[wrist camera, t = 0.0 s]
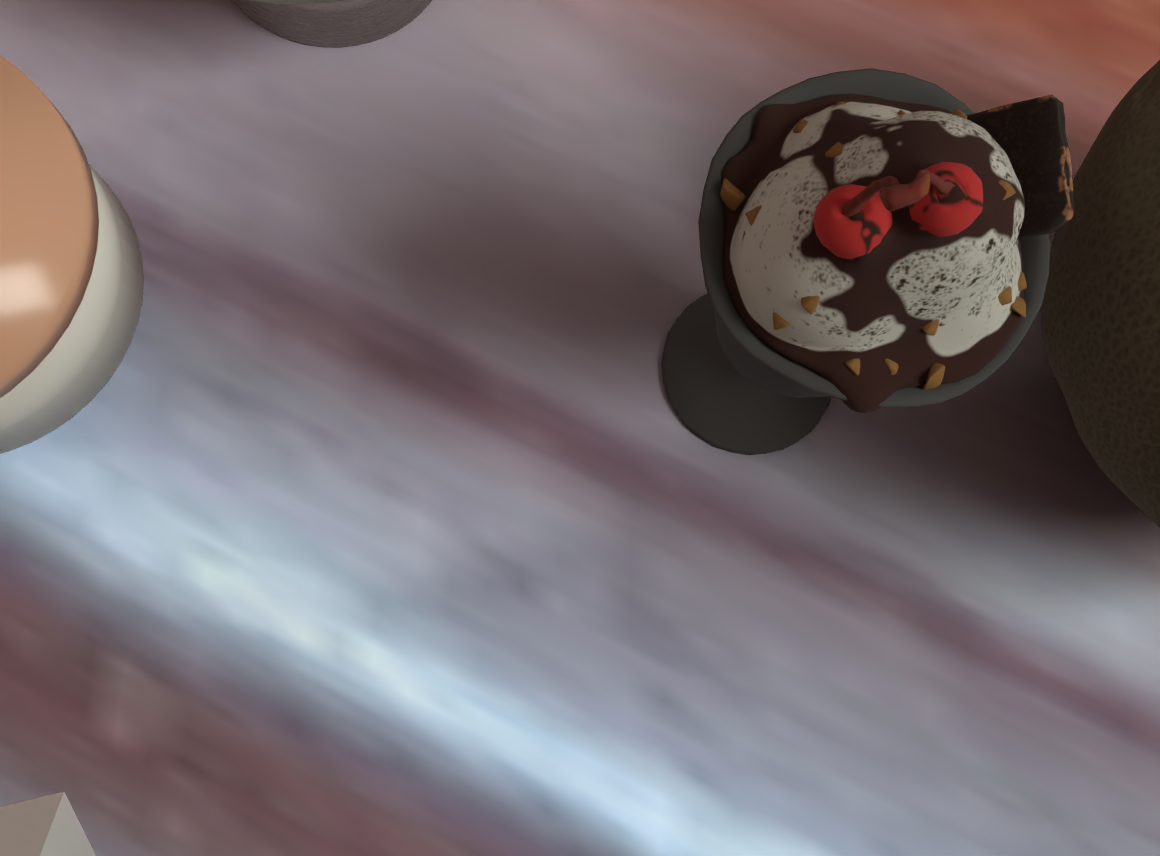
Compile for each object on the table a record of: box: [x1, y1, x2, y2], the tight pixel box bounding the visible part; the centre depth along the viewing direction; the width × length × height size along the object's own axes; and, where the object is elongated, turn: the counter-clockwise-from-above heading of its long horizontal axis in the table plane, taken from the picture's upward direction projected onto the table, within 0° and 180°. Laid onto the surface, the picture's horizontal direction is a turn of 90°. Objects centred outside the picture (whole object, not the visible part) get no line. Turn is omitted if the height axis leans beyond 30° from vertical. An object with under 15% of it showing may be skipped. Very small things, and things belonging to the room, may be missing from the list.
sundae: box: [662, 69, 1074, 455], centre depth 21 cm, size 7×7×15 cm
